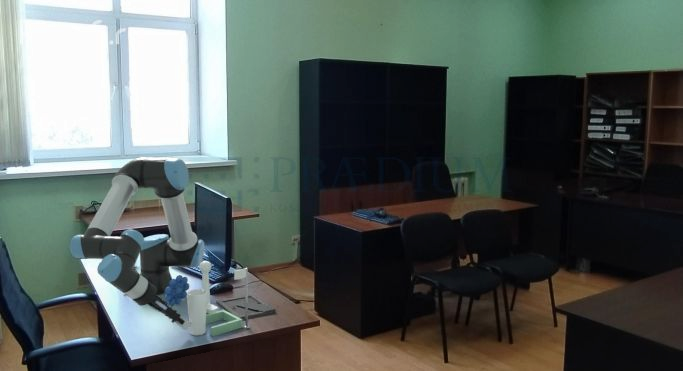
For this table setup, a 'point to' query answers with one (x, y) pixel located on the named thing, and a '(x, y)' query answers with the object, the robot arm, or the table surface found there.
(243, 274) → the flag post
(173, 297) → the grapes
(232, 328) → the green u-shaped piece
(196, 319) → the drinking glass
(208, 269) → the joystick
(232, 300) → the picture frame
